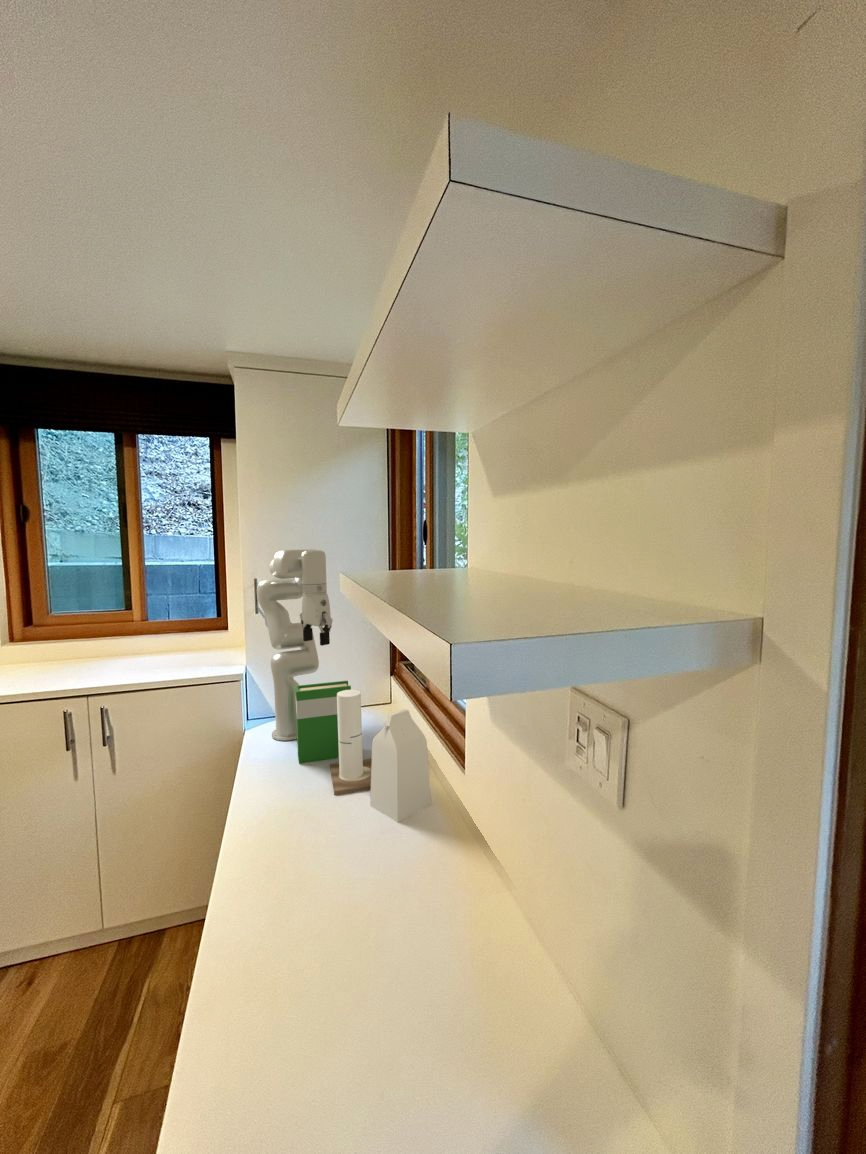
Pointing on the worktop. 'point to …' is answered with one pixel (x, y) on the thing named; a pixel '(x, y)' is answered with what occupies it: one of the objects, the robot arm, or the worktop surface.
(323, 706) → the hardback book
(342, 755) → the cylindrical container
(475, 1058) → the worktop surface
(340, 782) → the walnut board
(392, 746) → the milk
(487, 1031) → the worktop surface
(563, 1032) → the worktop surface
